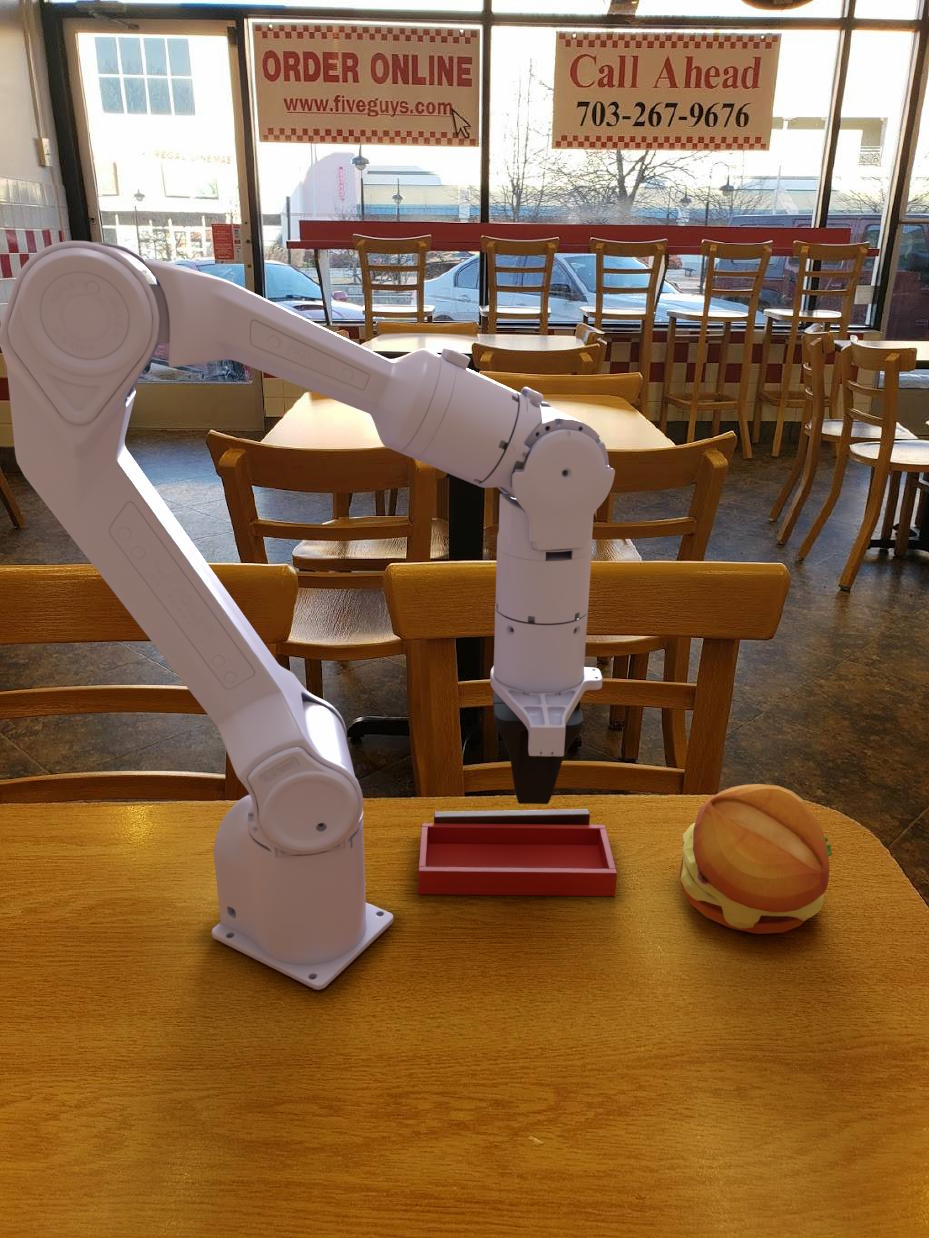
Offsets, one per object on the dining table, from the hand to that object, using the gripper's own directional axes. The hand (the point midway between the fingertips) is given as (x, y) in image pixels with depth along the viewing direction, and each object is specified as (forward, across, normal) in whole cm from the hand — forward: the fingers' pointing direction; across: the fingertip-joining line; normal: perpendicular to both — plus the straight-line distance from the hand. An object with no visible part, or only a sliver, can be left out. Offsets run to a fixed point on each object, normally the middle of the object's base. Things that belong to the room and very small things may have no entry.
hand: (532, 798), depth 63 cm
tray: (+9, +4, +1) cm, 9 cm away
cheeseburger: (+9, 0, -16) cm, 18 cm away
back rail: (+9, +8, +1) cm, 12 cm away
